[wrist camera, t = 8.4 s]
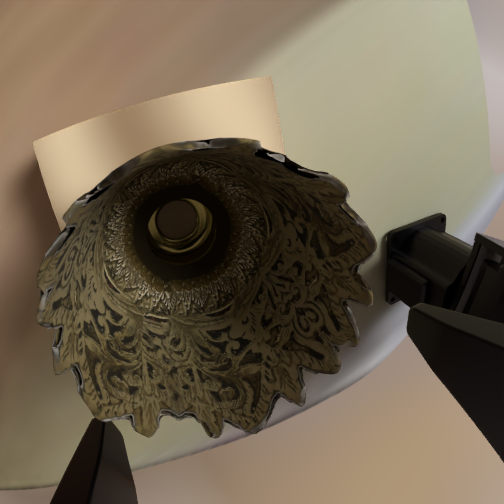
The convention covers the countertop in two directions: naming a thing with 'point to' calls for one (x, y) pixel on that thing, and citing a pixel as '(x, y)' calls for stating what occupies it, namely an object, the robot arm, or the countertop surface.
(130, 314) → the cup
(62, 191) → the pedestal
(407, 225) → the robot arm
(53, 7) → the countertop surface
